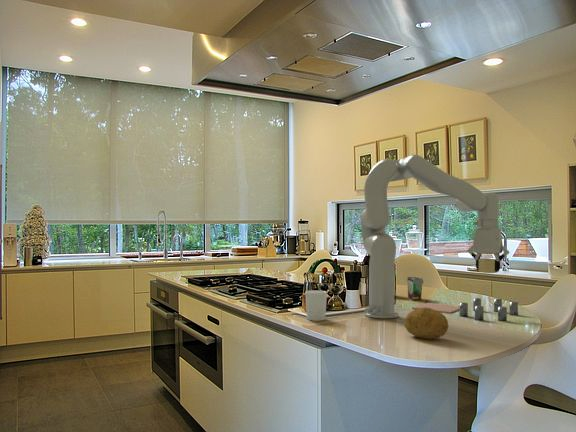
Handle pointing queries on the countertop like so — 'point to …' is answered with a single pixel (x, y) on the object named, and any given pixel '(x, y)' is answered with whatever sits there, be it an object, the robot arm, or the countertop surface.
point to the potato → (426, 323)
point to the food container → (414, 288)
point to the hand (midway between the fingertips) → (487, 270)
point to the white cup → (316, 305)
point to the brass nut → (487, 265)
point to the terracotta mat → (439, 307)
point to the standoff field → (497, 308)
